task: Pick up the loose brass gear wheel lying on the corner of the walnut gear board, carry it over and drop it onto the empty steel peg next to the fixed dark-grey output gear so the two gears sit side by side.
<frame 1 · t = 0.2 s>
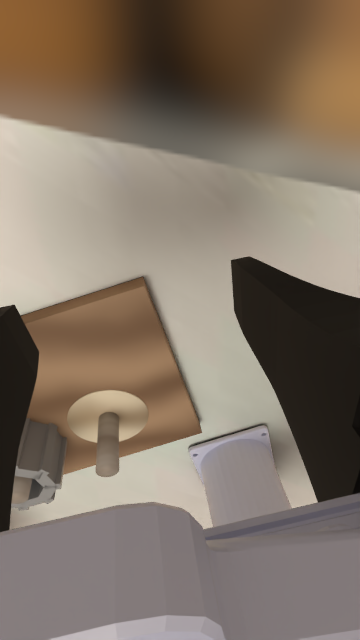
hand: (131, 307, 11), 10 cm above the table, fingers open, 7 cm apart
grey gear: (29, 441, 28), resting on board
board: (56, 399, 27), on the table
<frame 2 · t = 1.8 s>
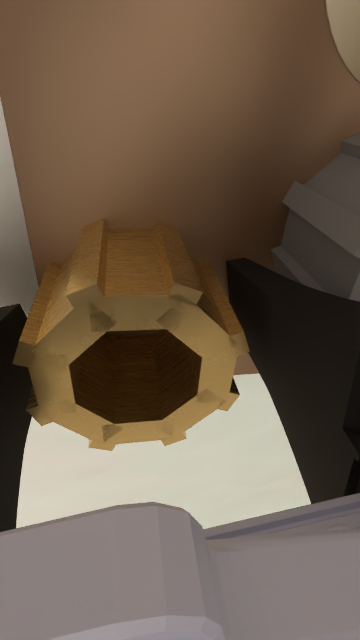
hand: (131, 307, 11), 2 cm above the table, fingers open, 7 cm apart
grey gear: (354, 227, 11), resting on board
board: (296, 101, 10), on the table
brass gear: (132, 298, 12), point 1 cm above the table, touching board
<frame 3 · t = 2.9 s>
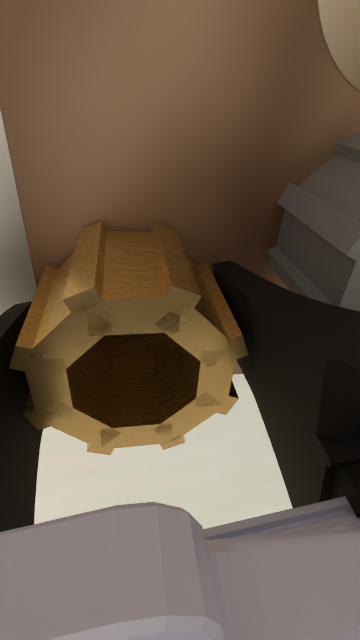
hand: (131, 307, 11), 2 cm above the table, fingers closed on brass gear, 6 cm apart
grey gear: (349, 227, 12), resting on board
board: (290, 103, 10), on the table
brass gear: (130, 301, 12), point 1 cm above the table, touching gripper
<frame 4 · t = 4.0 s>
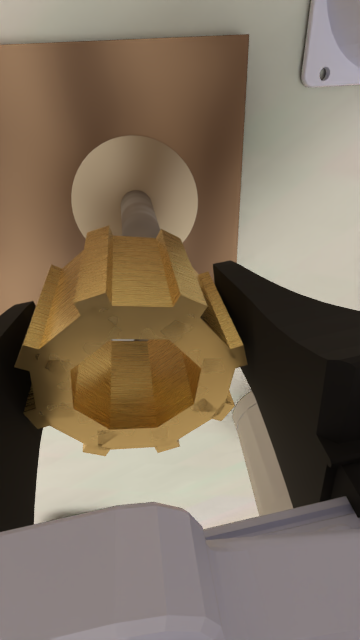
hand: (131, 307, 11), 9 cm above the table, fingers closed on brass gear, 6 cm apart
board: (100, 261, 20), on the table
cup: (265, 407, 31), on the table
brass gear: (131, 304, 12), point 9 cm above the table, touching gripper
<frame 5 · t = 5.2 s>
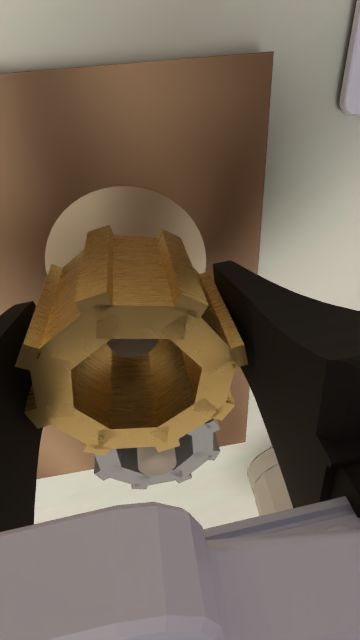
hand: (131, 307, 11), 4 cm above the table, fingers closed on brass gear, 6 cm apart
grey gear: (149, 384, 18), resting on board
board: (87, 326, 17), on the table
cup: (285, 463, 27), on the table
brass gear: (131, 304, 12), point 4 cm above the table, touching gripper
when the fingers open (4 cm above the table, at t = 6.1 s): brass gear drops 2 cm, resting on board.
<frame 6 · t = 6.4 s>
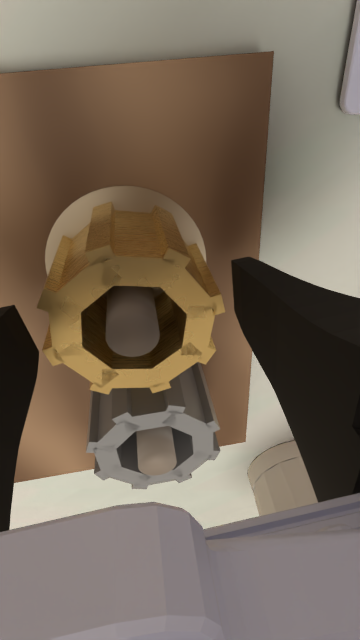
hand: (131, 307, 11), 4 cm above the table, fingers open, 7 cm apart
grey gear: (149, 384, 18), resting on board
board: (87, 326, 17), on the table
cup: (285, 463, 27), on the table
brass gear: (130, 272, 14), point 1 cm above the table, touching board
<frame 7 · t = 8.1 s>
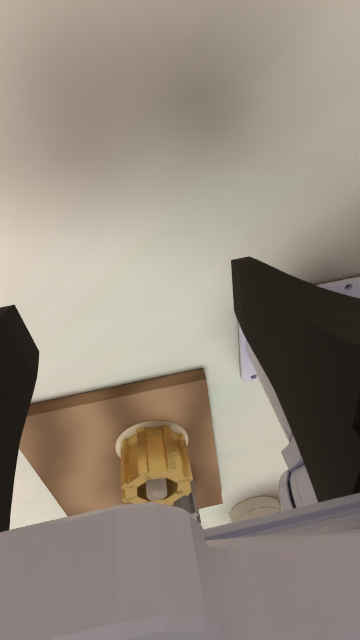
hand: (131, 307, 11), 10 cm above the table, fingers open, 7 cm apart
grey gear: (164, 483, 34), resting on board
board: (132, 459, 33), on the table
cup: (253, 508, 43), on the table
brass gear: (153, 445, 30), point 1 cm above the table, touching board
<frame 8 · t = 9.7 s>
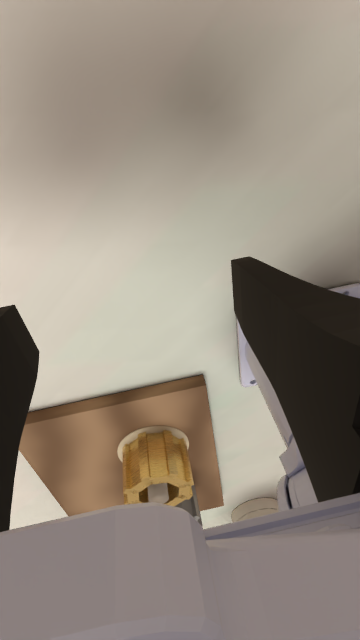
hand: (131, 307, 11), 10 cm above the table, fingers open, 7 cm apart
grey gear: (166, 486, 34), resting on board
board: (134, 463, 33), on the table
cup: (254, 509, 43), on the table
brass gear: (154, 450, 30), point 1 cm above the table, touching board
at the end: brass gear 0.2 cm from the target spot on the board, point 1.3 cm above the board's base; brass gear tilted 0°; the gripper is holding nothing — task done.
